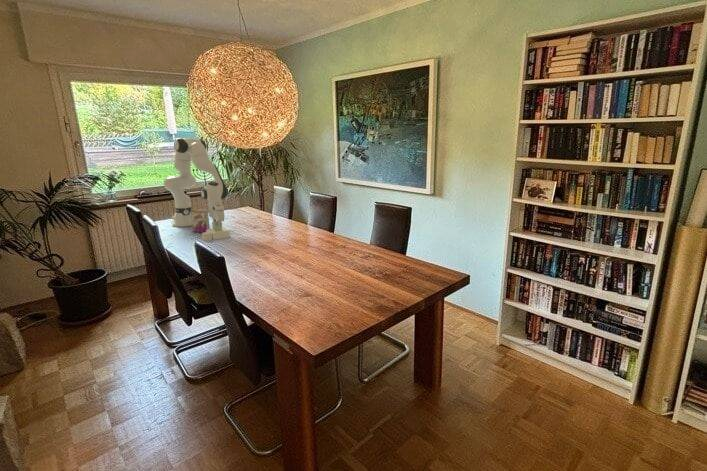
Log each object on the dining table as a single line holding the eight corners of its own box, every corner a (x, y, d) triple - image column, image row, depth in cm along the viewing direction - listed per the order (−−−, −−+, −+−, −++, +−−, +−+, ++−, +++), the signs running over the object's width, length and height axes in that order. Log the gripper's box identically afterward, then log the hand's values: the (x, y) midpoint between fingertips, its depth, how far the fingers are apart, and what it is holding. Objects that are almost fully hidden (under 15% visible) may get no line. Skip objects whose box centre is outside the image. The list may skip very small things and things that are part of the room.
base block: (206, 236, 255) (205, 229, 253) (223, 233, 262) (222, 227, 261) (213, 240, 246) (212, 233, 245) (230, 237, 254) (229, 230, 253)
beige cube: (202, 239, 246) (201, 232, 244) (209, 238, 249) (209, 231, 248) (204, 241, 242) (204, 234, 241) (212, 240, 245) (211, 233, 244)
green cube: (212, 228, 253) (212, 221, 252) (219, 227, 256) (219, 220, 255) (215, 230, 249) (214, 223, 248) (222, 228, 252) (221, 222, 251)
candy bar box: (192, 232, 264) (190, 210, 259) (196, 230, 269) (193, 209, 264) (207, 232, 263) (204, 210, 258) (210, 231, 268) (208, 209, 263)
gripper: (205, 204, 254) (207, 223, 258) (216, 208, 239) (217, 228, 243) (214, 203, 258) (216, 221, 262) (225, 207, 243) (227, 227, 247)
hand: (217, 225), depth 252 cm, fingers open, 5 cm apart
